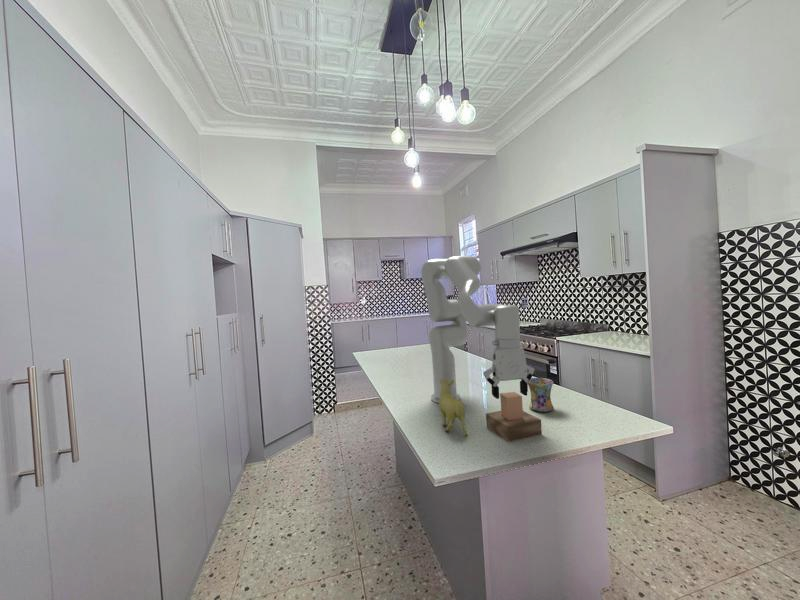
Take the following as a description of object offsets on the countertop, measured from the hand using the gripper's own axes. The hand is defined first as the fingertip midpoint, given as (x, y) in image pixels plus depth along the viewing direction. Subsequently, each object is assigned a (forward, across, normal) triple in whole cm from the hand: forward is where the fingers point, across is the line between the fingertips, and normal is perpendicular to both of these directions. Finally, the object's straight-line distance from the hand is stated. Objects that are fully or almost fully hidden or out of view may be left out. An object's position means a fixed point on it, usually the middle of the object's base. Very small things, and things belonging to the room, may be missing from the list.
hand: (510, 395), depth 105 cm
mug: (+12, +19, +14) cm, 27 cm away
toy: (+12, -18, +8) cm, 23 cm away
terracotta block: (+6, 0, -1) cm, 7 cm away
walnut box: (+12, 0, -1) cm, 12 cm away
